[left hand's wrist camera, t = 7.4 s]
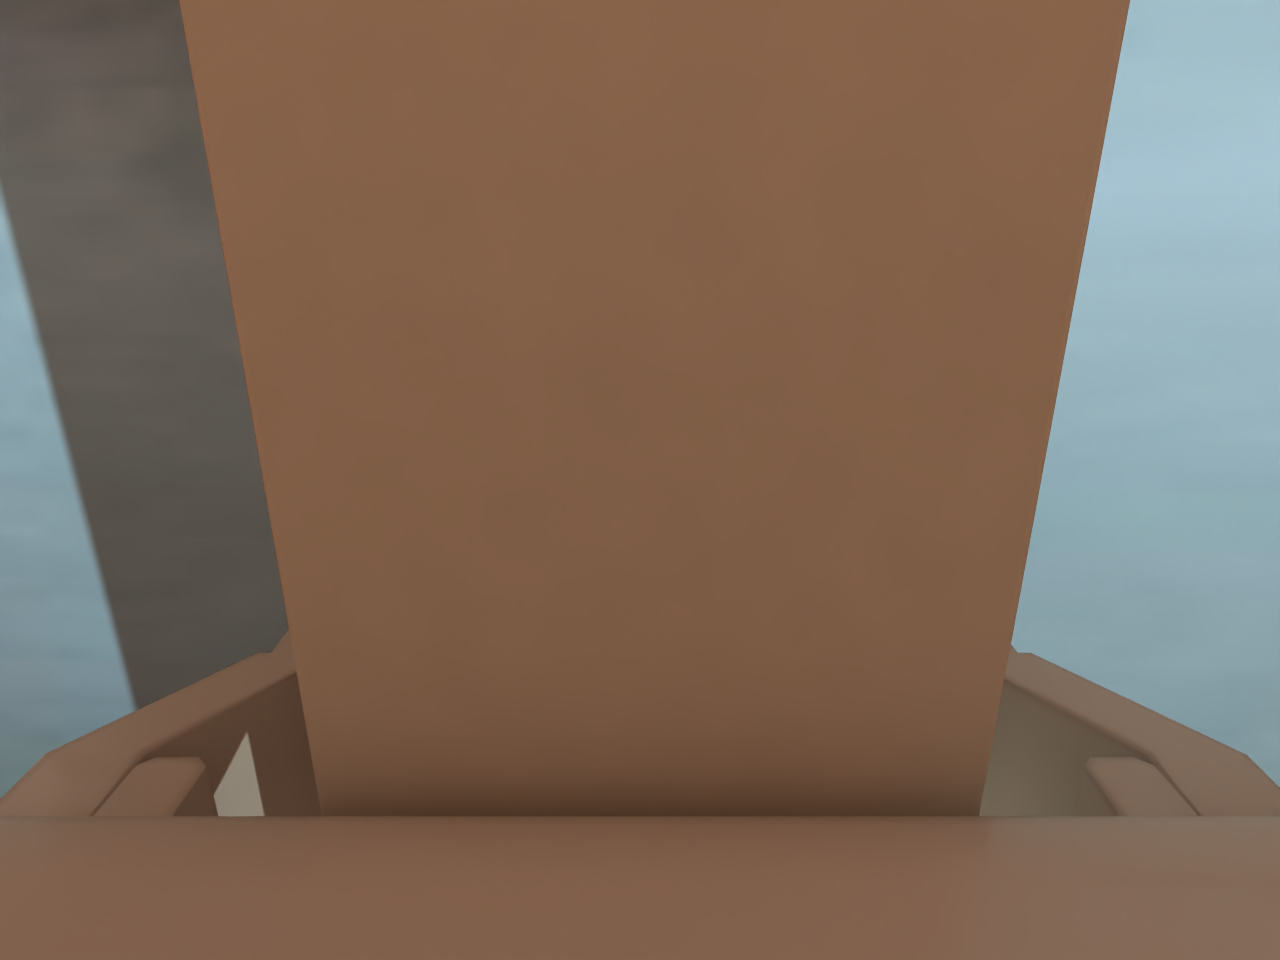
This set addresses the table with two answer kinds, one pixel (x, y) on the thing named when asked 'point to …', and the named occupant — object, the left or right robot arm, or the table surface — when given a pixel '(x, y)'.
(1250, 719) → the table surface
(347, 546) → the beam
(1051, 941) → the left robot arm
